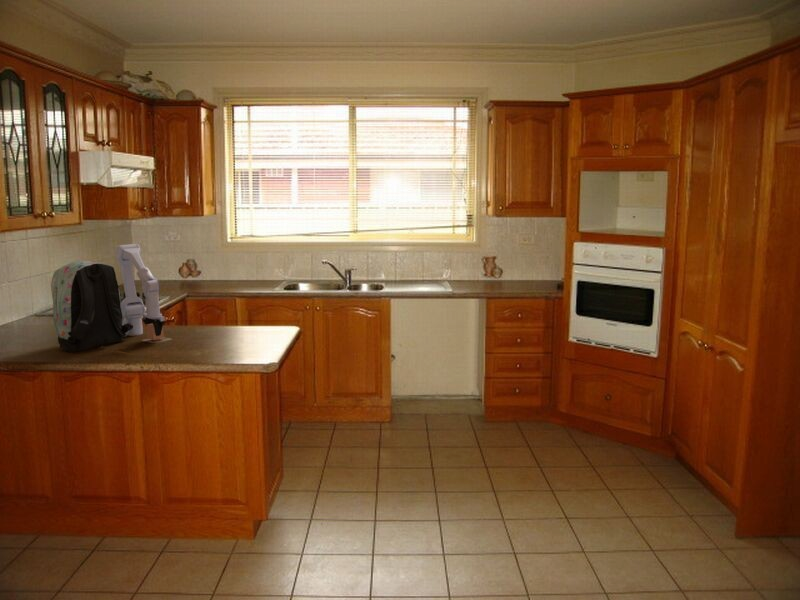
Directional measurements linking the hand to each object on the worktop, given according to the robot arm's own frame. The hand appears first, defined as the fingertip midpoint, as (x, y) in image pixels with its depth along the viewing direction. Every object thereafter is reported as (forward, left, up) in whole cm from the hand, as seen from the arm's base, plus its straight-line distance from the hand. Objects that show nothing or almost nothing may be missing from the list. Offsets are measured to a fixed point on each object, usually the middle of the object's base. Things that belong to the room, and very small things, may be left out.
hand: (154, 334), depth 305 cm
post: (0, 0, -3) cm, 3 cm away
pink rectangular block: (0, 0, -2) cm, 2 cm away
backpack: (-19, -21, -4) cm, 29 cm away
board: (0, +1, -3) cm, 4 cm away
